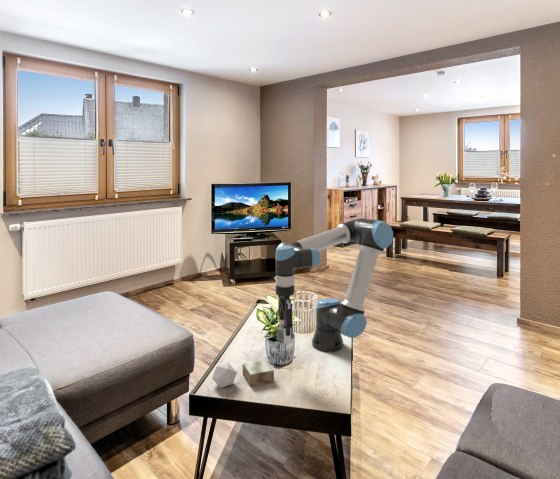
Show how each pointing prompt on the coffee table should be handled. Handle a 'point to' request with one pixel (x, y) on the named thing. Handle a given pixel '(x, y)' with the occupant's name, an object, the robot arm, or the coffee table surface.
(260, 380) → the walnut base
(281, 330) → the grey cube
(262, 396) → the coffee table surface
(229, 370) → the white faceted polyhedron
